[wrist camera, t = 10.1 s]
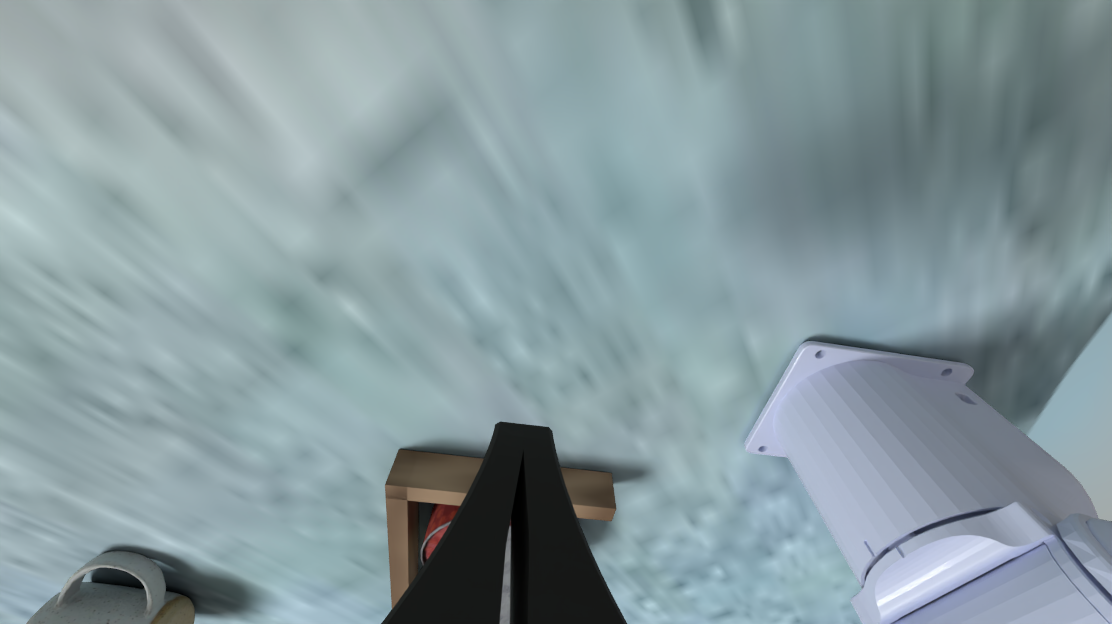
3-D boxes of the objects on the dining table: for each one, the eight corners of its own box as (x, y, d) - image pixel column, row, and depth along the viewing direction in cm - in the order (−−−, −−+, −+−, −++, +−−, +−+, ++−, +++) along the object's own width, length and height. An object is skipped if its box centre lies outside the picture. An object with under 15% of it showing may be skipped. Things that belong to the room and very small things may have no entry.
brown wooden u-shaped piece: (611, 473, 27) (616, 509, 25) (565, 601, 36) (565, 637, 34) (399, 449, 26) (385, 484, 24) (402, 588, 35) (392, 623, 33)
